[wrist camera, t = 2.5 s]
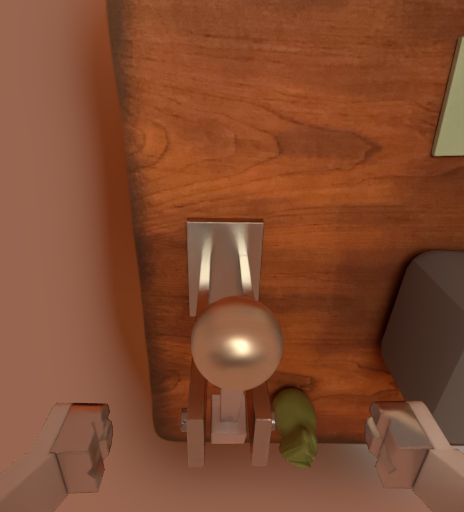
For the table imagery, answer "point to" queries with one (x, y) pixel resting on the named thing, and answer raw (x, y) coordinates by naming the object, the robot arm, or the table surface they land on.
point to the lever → (235, 358)
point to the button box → (452, 110)
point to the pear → (296, 426)
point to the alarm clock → (430, 338)
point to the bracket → (208, 291)
